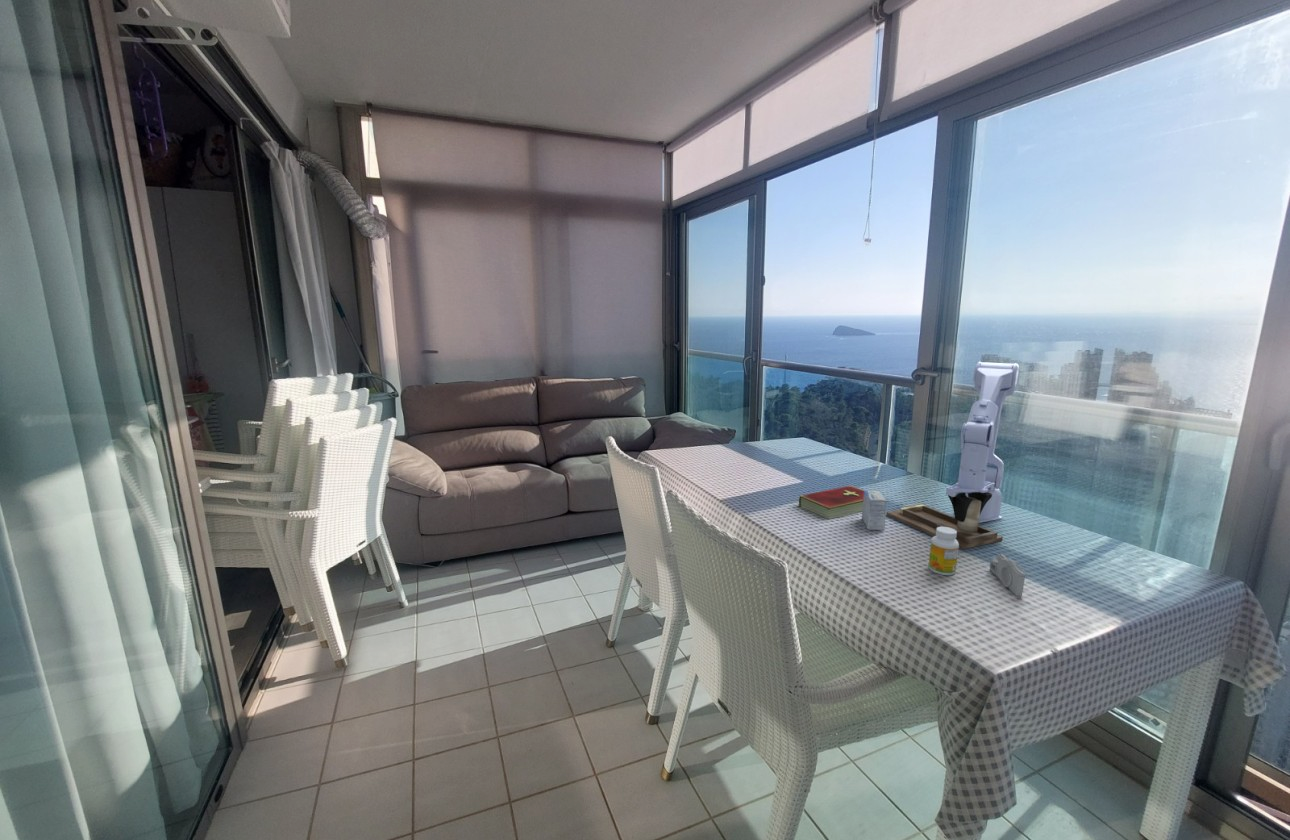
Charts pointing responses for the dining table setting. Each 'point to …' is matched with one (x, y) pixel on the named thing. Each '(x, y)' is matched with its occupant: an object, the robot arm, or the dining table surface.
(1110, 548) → the dining table surface
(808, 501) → the hardcover book
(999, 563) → the grey toy camera
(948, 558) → the supplement bottle
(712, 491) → the dining table surface
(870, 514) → the medicine box
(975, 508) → the ash peg
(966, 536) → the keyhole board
